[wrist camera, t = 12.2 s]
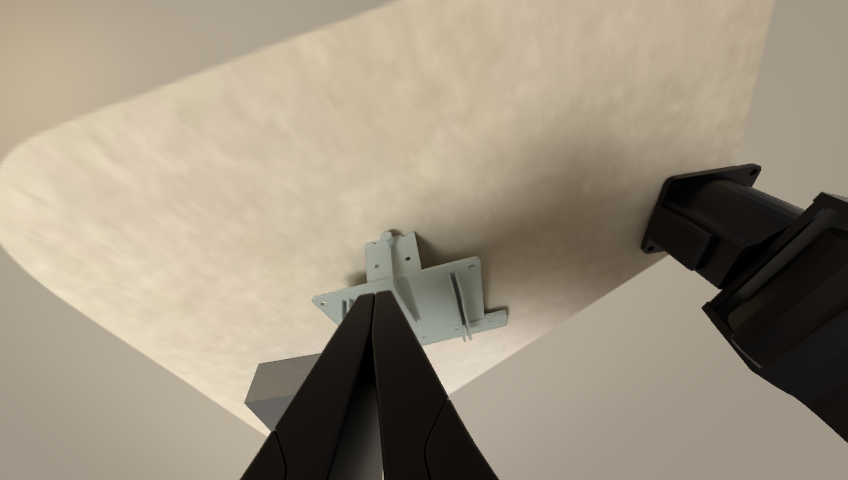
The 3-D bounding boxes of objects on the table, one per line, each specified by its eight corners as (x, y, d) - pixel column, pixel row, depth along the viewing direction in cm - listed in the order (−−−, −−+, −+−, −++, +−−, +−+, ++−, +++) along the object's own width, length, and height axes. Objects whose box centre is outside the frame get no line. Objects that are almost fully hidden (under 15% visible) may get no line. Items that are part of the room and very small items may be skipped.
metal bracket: (267, 329, 17) (523, 266, 17) (280, 250, 21) (491, 195, 20) (357, 383, 28) (511, 347, 28) (355, 325, 32) (492, 292, 31)
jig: (367, 345, 28) (365, 381, 25) (384, 390, 32) (384, 425, 29) (258, 364, 27) (244, 403, 25) (291, 406, 32) (282, 443, 29)
